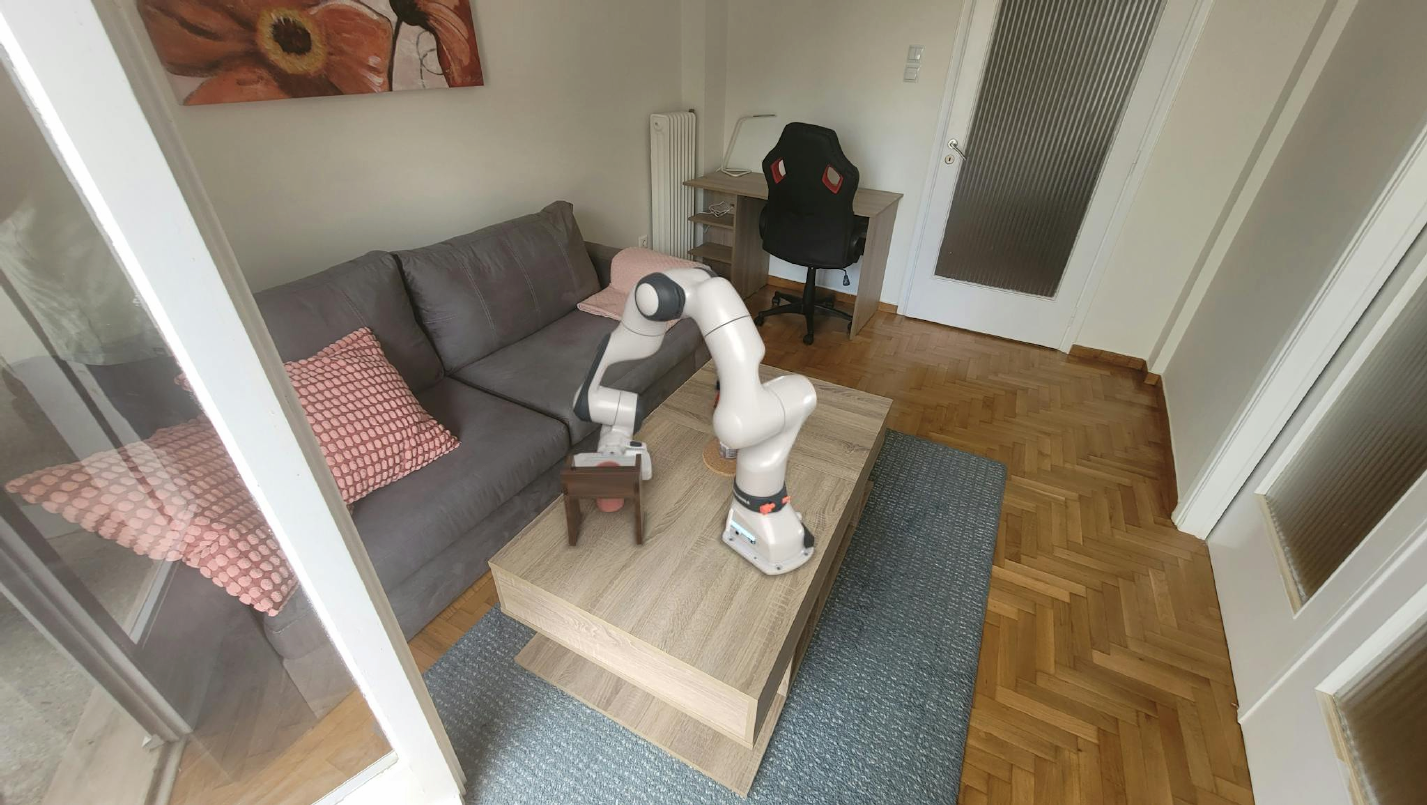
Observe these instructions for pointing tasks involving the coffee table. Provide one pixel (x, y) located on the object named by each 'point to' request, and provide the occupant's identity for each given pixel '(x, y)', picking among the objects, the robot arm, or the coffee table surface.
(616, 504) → the cup
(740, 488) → the robot arm
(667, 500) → the coffee table surface
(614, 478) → the dark wooden stand
